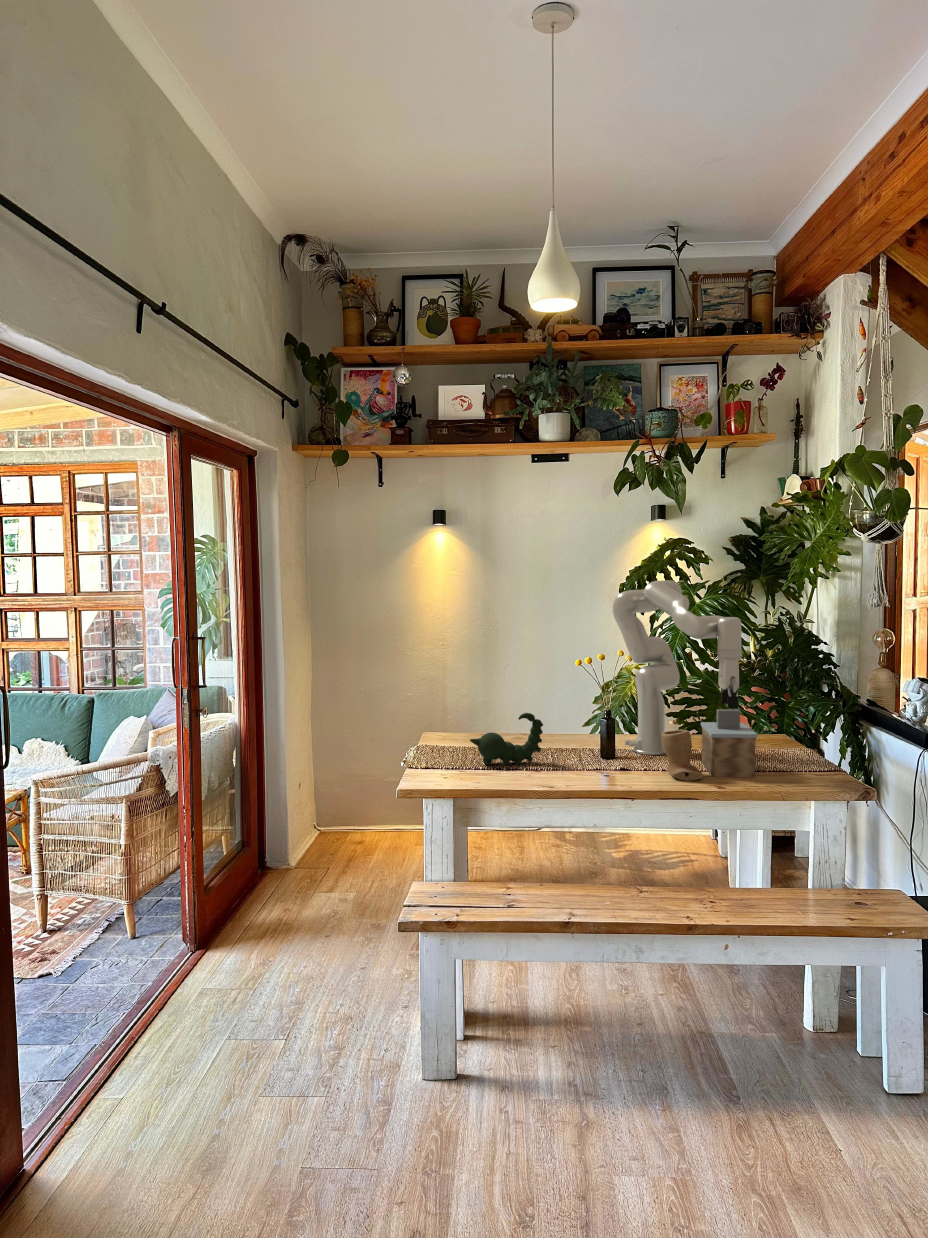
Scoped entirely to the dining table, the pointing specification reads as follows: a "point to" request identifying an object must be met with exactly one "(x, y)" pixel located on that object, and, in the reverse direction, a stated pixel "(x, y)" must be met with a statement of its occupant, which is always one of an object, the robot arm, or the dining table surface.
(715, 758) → the crate
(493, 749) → the toy figurine
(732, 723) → the lid
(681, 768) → the tan boot
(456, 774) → the dining table surface
